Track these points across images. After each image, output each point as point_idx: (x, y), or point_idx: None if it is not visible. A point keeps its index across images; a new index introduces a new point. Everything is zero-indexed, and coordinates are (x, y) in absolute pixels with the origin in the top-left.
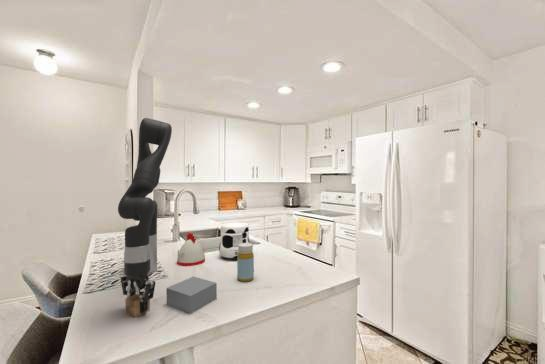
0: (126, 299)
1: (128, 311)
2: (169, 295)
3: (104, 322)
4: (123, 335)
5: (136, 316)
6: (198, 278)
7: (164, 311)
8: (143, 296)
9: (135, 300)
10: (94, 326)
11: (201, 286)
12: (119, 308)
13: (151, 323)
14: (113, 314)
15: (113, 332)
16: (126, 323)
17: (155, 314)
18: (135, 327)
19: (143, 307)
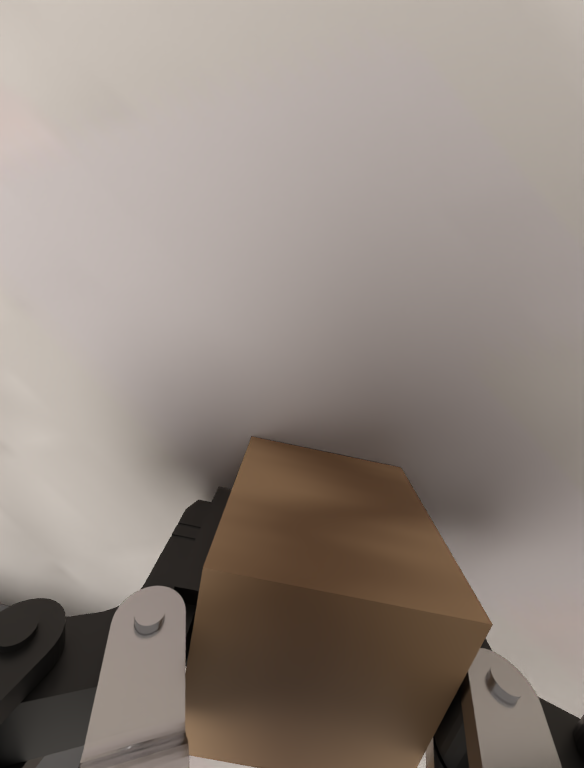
0: (458, 608)
1: (364, 478)
2: (61, 759)
3: (509, 295)
4: (107, 128)
5: (249, 444)
6: None
7: (89, 560)
8: (232, 713)
9: (248, 600)
10: (570, 199)
11: None
12: (534, 534)
13: (32, 384)
14: (519, 439)
15: (260, 150)
16: (261, 332)
17: (123, 511)
18: (116, 291)
19: (181, 534)
